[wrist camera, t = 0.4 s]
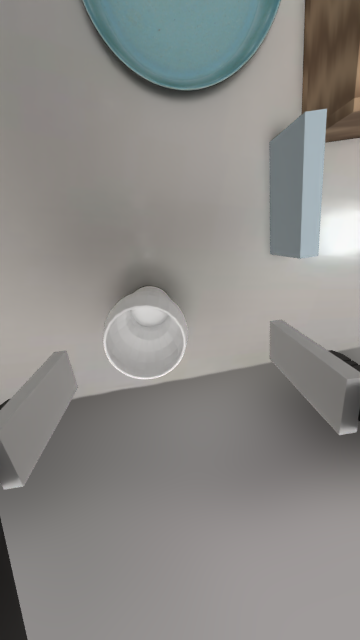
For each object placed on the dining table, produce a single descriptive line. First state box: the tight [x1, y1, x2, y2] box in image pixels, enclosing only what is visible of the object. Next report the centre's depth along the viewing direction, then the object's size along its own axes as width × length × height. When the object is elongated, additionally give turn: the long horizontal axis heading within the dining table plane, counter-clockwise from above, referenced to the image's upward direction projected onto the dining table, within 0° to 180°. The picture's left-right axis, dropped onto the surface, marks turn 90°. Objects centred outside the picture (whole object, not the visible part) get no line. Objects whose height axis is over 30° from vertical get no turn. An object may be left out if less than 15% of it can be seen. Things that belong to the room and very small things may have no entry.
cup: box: [103, 286, 188, 379], centre depth 34 cm, size 11×11×15 cm
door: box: [270, 109, 327, 259], centre depth 33 cm, size 16×2×9 cm, turn 8°
